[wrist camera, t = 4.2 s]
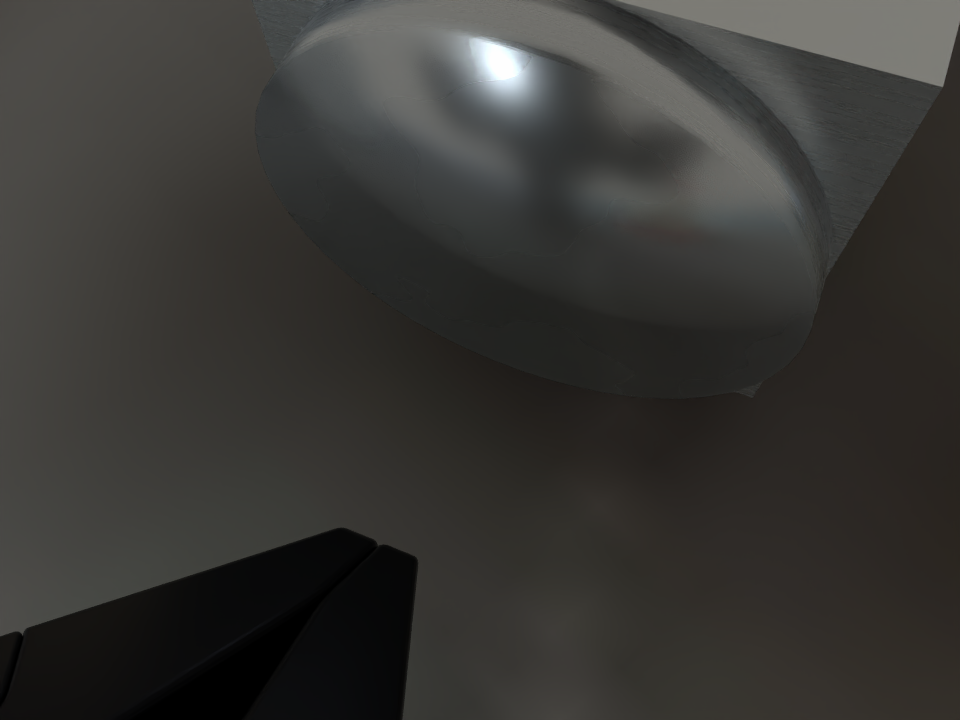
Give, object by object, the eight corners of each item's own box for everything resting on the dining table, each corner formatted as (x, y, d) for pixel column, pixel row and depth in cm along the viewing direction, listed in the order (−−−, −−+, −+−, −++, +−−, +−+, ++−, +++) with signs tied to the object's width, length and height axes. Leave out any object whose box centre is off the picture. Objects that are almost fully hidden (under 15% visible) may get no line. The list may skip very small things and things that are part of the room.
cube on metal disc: (737, 446, 13) (922, 165, 7) (320, 299, 14) (170, -47, 8) (861, 45, 16) (1068, -401, 10) (504, -48, 17) (494, -494, 11)
